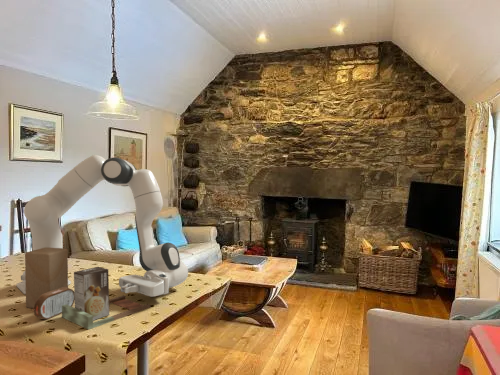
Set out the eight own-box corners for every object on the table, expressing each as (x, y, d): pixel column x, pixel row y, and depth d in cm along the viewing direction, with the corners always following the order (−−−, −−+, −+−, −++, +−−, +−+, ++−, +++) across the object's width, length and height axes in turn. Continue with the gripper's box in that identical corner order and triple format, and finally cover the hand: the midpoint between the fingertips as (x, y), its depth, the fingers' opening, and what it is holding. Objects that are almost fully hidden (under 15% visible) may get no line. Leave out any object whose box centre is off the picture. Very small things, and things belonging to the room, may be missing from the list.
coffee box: (99, 310, 132) (98, 265, 132) (109, 315, 129) (109, 269, 128) (73, 319, 125) (73, 271, 124) (84, 324, 121) (83, 274, 120)
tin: (70, 306, 136) (69, 283, 136) (76, 307, 135) (76, 284, 135) (32, 322, 122) (32, 296, 122) (40, 323, 121) (39, 298, 121)
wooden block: (49, 310, 132) (48, 254, 131) (25, 308, 134) (24, 252, 133) (68, 300, 142) (68, 248, 141) (45, 298, 144) (45, 247, 143)
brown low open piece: (62, 317, 126) (61, 305, 126) (123, 297, 146) (123, 287, 146) (88, 329, 117) (88, 317, 117) (150, 307, 136) (150, 296, 136)
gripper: (136, 268, 153) (106, 276, 142) (171, 277, 141) (140, 287, 130) (137, 284, 153) (106, 293, 142) (171, 294, 141) (140, 304, 130)
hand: (123, 290), depth 136 cm, fingers closed
